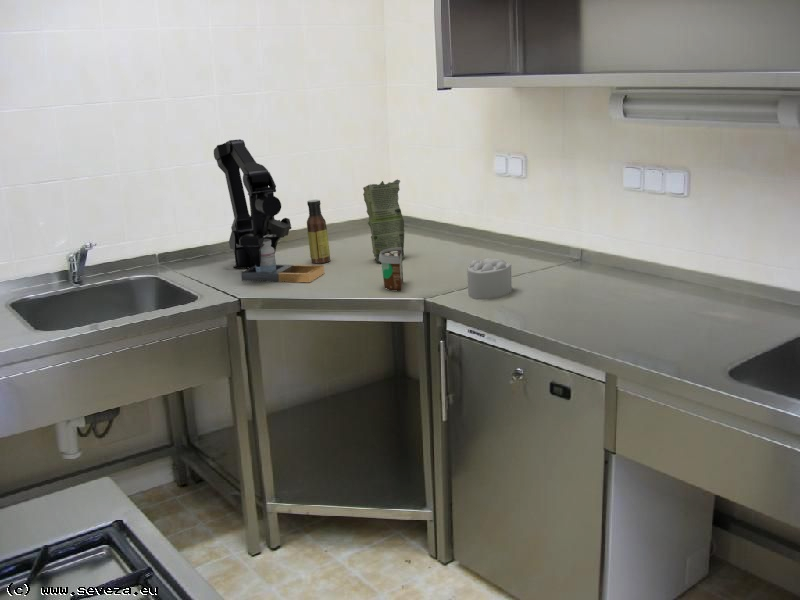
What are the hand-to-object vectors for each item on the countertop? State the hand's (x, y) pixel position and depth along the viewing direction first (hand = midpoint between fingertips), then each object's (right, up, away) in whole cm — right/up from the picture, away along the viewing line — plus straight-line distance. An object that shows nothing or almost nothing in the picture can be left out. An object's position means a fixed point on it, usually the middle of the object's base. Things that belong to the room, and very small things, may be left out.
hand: (265, 263), depth 254 cm
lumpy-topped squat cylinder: (+64, -9, -30) cm, 71 cm away
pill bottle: (0, -4, +1) cm, 4 cm away
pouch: (+36, +2, +15) cm, 39 cm away
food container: (+38, -8, -18) cm, 43 cm away
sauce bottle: (+15, +1, +17) cm, 22 cm away
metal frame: (+5, -4, -1) cm, 7 cm away
